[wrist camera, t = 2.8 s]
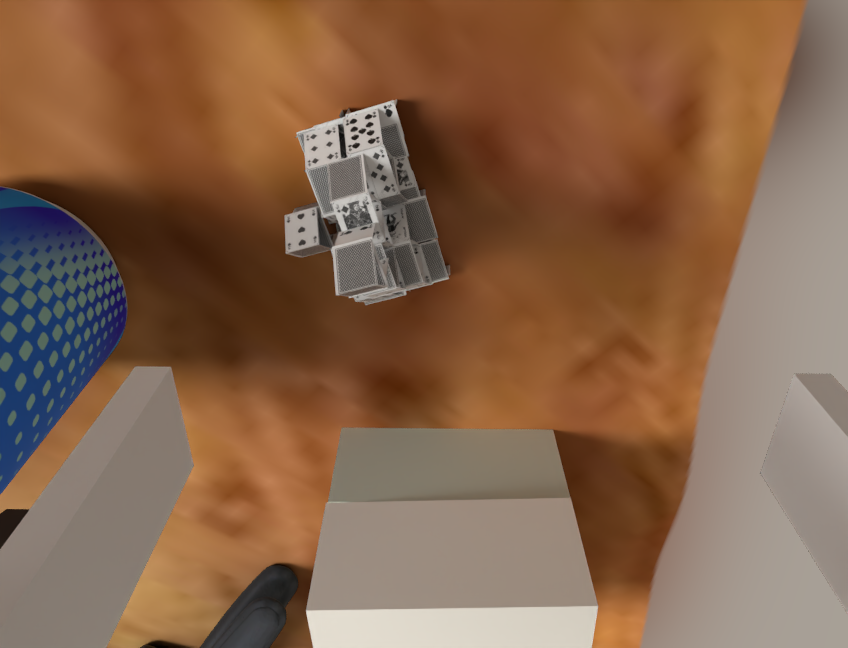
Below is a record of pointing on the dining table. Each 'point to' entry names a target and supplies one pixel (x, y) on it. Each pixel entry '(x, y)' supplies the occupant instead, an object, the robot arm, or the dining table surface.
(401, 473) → the tower bottom block
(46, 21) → the dining table surface
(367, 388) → the dining table surface
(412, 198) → the house of cards
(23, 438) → the beer can
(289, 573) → the can opener
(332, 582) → the tower top block
